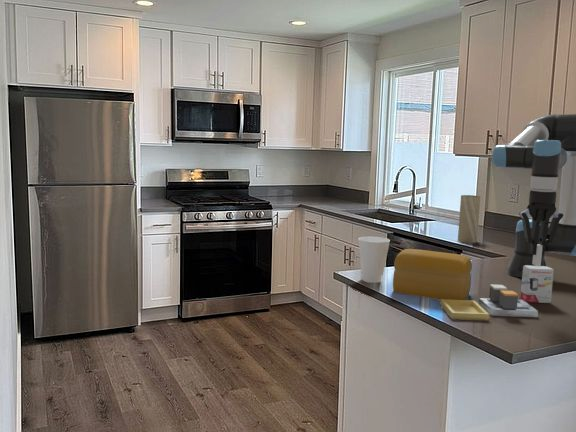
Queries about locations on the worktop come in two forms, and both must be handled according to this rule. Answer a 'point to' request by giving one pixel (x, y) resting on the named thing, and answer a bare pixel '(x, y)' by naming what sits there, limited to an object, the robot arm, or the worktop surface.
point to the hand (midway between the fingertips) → (536, 264)
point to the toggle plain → (496, 292)
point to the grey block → (508, 299)
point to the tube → (468, 218)
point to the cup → (373, 257)
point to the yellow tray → (464, 310)
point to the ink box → (537, 284)
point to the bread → (432, 274)
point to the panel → (497, 310)
